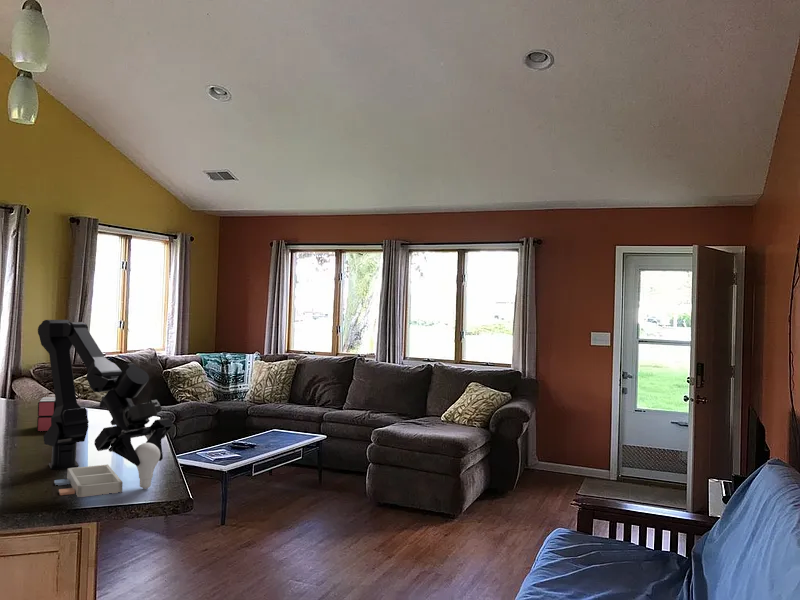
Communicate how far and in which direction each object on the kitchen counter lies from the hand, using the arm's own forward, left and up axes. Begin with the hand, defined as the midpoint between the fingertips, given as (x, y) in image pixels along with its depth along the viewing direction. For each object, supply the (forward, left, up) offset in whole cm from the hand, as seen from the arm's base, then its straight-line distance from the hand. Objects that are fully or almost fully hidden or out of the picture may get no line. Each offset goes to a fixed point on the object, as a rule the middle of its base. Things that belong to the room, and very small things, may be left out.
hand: (150, 462), depth 158 cm
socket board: (-10, -12, -7) cm, 17 cm away
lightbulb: (-1, -1, -7) cm, 7 cm away
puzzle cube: (-85, -11, -7) cm, 86 cm away
